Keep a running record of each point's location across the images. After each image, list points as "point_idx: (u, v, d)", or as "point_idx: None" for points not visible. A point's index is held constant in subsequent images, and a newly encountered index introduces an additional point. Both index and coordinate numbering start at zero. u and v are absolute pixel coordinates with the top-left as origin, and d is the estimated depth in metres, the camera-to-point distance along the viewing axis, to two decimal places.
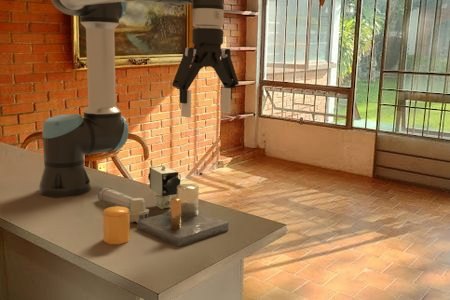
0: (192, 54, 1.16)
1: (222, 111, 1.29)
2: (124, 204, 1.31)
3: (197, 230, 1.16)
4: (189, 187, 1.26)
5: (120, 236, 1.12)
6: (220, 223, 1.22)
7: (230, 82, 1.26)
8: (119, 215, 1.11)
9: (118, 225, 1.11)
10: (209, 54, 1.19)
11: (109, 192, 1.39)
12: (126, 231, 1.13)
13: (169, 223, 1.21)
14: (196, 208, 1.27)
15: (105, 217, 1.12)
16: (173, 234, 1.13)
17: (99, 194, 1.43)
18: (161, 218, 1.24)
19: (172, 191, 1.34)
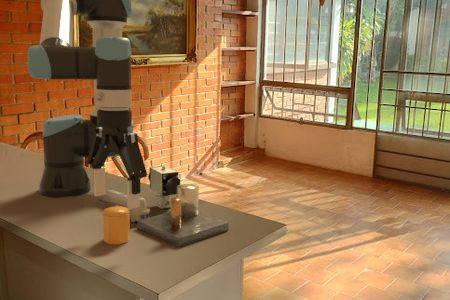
0: (95, 134, 1.13)
1: None
2: (125, 204, 1.31)
3: (197, 230, 1.16)
4: (189, 187, 1.26)
5: (120, 236, 1.12)
6: (220, 223, 1.22)
7: (129, 173, 1.05)
8: (119, 215, 1.11)
9: (118, 225, 1.11)
10: (104, 136, 1.09)
11: (109, 192, 1.39)
12: (126, 231, 1.13)
13: (169, 223, 1.21)
14: (196, 208, 1.27)
15: (105, 217, 1.12)
16: (173, 234, 1.13)
17: None
18: (161, 218, 1.24)
19: (172, 191, 1.34)
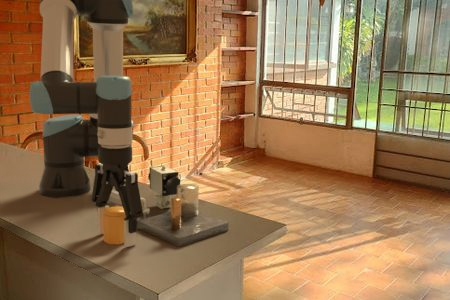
0: (97, 171, 1.15)
1: None
2: None
3: (197, 230, 1.16)
4: (189, 187, 1.26)
5: (120, 236, 1.12)
6: (220, 223, 1.22)
7: (126, 212, 1.08)
8: (119, 215, 1.11)
9: (118, 225, 1.11)
10: (105, 172, 1.11)
11: None
12: None
13: (169, 223, 1.21)
14: (196, 208, 1.27)
15: (105, 217, 1.12)
16: (173, 234, 1.13)
17: None
18: (161, 218, 1.24)
19: (172, 191, 1.34)
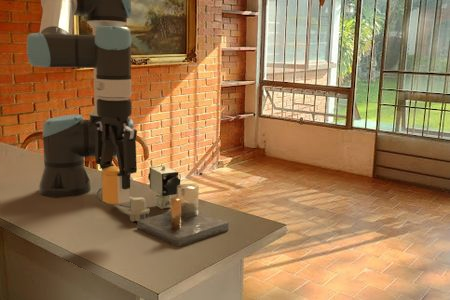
0: (96, 128, 1.13)
1: None
2: (124, 204, 1.31)
3: (197, 230, 1.16)
4: (189, 187, 1.26)
5: None
6: (220, 223, 1.22)
7: (120, 168, 1.08)
8: None
9: (117, 184, 1.10)
10: (104, 126, 1.09)
11: None
12: None
13: (169, 223, 1.21)
14: (196, 208, 1.27)
15: (104, 176, 1.10)
16: (173, 234, 1.13)
17: (98, 194, 1.43)
18: (161, 218, 1.24)
19: (172, 191, 1.34)
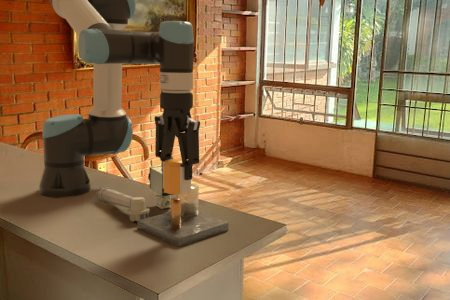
0: (157, 122, 1.16)
1: None
2: (124, 203, 1.31)
3: (197, 230, 1.16)
4: None
5: None
6: (220, 223, 1.22)
7: (183, 159, 1.11)
8: None
9: (179, 175, 1.12)
10: (166, 119, 1.12)
11: (108, 192, 1.39)
12: None
13: (169, 223, 1.21)
14: (196, 208, 1.27)
15: (166, 167, 1.13)
16: (173, 234, 1.13)
17: (98, 194, 1.43)
18: (161, 218, 1.24)
19: None
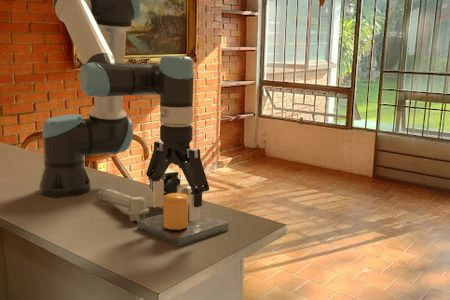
0: (156, 148, 1.18)
1: None
2: (124, 203, 1.31)
3: (197, 230, 1.16)
4: (189, 187, 1.26)
5: (180, 222, 1.15)
6: (220, 223, 1.22)
7: (192, 187, 1.10)
8: (180, 201, 1.14)
9: (179, 211, 1.14)
10: (166, 151, 1.14)
11: (108, 191, 1.40)
12: (186, 217, 1.16)
13: None
14: None
15: (166, 203, 1.15)
16: (173, 234, 1.13)
17: (98, 194, 1.43)
18: (161, 218, 1.24)
19: (172, 191, 1.34)
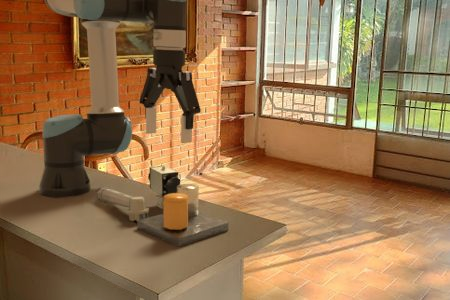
0: (149, 74, 1.20)
1: None
2: (124, 203, 1.31)
3: (197, 230, 1.16)
4: (189, 187, 1.26)
5: (180, 222, 1.15)
6: (220, 223, 1.22)
7: (184, 109, 1.13)
8: (180, 201, 1.14)
9: (179, 211, 1.14)
10: (159, 75, 1.16)
11: (108, 191, 1.40)
12: (186, 217, 1.16)
13: None
14: (196, 208, 1.27)
15: (166, 203, 1.15)
16: (173, 234, 1.13)
17: (98, 193, 1.43)
18: (161, 218, 1.24)
19: (172, 191, 1.34)
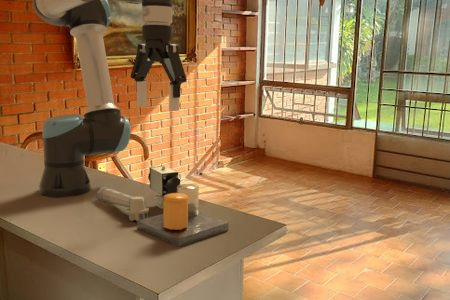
0: (139, 49, 1.29)
1: None
2: (124, 203, 1.32)
3: (197, 230, 1.16)
4: (189, 187, 1.26)
5: (180, 222, 1.15)
6: (220, 223, 1.22)
7: (171, 79, 1.22)
8: (180, 201, 1.14)
9: (179, 211, 1.14)
10: (148, 49, 1.25)
11: (108, 191, 1.40)
12: (185, 217, 1.16)
13: None
14: (196, 208, 1.27)
15: (166, 203, 1.15)
16: (173, 234, 1.13)
17: (98, 193, 1.44)
18: (161, 218, 1.24)
19: (172, 191, 1.34)
